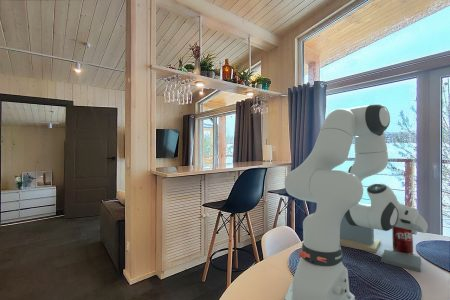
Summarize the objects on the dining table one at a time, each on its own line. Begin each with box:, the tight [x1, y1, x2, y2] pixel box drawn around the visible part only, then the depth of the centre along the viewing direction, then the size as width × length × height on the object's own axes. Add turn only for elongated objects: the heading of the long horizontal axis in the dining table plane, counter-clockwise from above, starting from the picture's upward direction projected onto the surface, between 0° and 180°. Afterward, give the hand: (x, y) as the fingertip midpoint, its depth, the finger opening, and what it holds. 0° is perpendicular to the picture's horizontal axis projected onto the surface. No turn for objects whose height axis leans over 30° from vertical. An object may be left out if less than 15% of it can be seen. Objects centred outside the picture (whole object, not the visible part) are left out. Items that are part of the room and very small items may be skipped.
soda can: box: [391, 226, 414, 255], centre depth 102 cm, size 7×7×12 cm
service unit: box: [340, 216, 381, 253], centre depth 112 cm, size 14×18×18 cm
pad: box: [380, 249, 421, 272], centre depth 93 cm, size 12×12×1 cm
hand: (402, 230), depth 102 cm, fingers closed on soda can, 7 cm apart
